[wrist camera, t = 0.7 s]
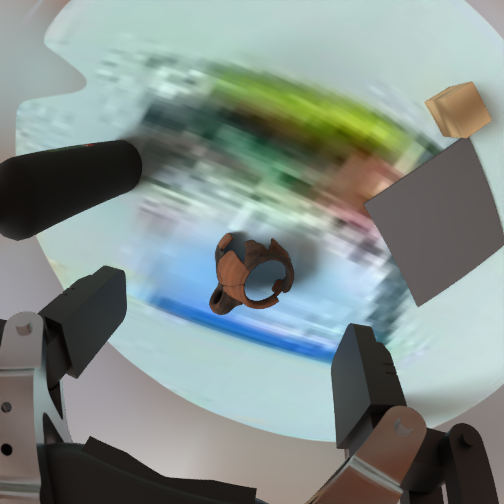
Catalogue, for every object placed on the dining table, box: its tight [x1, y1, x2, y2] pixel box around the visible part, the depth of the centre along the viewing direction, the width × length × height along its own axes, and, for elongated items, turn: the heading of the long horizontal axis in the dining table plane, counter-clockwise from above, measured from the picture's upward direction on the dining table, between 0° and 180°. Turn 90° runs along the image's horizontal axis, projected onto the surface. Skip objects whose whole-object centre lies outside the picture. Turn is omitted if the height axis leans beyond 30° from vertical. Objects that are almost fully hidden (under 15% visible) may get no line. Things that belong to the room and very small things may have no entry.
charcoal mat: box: [363, 137, 504, 307], centre depth 33 cm, size 18×18×1 cm
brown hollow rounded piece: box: [209, 233, 294, 315], centre depth 37 cm, size 12×10×8 cm
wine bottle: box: [0, 140, 142, 241], centre depth 23 cm, size 8×8×30 cm
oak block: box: [424, 82, 492, 138], centre depth 25 cm, size 5×5×6 cm
